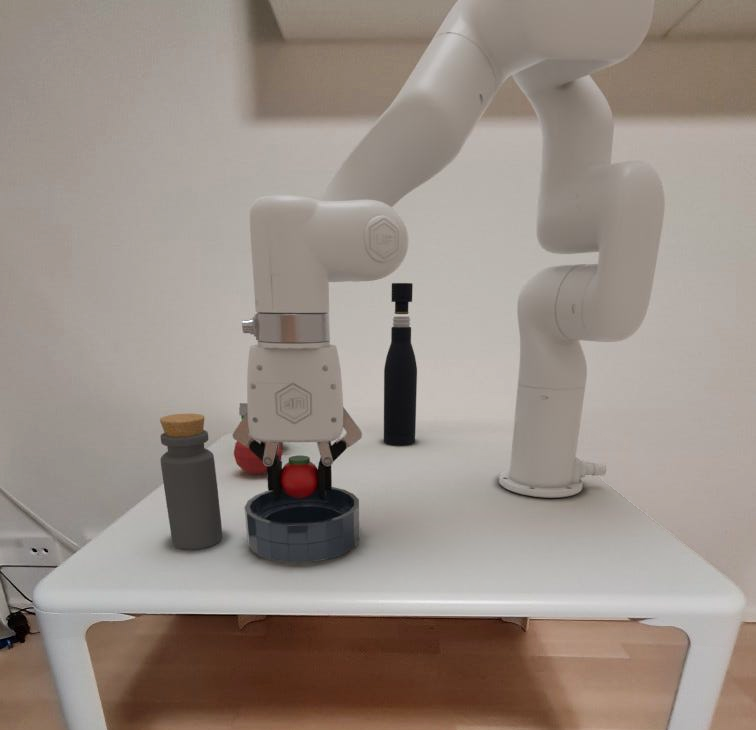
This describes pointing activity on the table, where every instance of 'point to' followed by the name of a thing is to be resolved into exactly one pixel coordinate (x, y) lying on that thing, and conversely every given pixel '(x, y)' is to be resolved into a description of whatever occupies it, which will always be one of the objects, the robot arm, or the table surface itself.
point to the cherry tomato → (299, 477)
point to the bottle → (190, 483)
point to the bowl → (302, 525)
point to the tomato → (250, 459)
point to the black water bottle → (400, 374)
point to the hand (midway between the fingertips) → (300, 494)
